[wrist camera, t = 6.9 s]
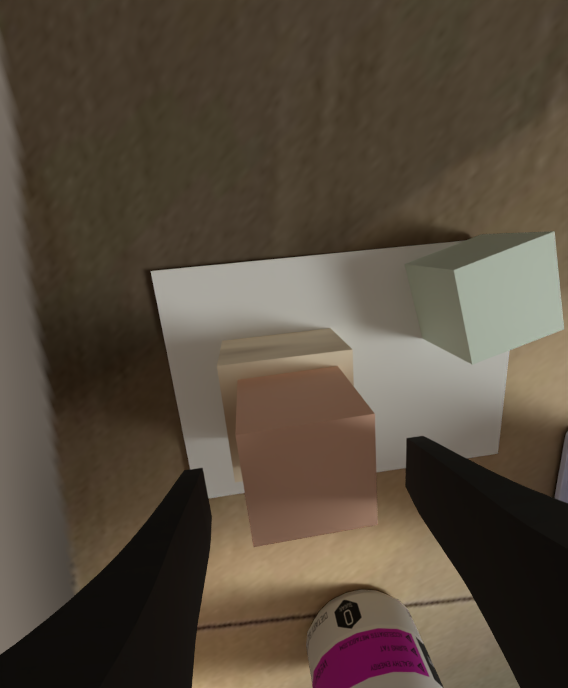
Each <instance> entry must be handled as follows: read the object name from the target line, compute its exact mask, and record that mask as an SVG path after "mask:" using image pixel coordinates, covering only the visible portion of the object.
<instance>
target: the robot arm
mask: <svg viewBox="0 0 568 688" xmlns="http://www.w3.org/2000/svg"><path fill="white" fill-rule="evenodd" d="M406 488H407V490H408V492H409V494H410V496H411V499H412V501H413V503H414V504H415V506H416V508H417V510H418V512H419V514H420V515H421V517H422V519H423V520H424V522H425V523H426V525H427V526H428V528H429V529H430V531H431V532H432V534H433V535H434V537H435V538H436V540H437V541H438V543H439V544H440V546H441V547H442V549H443V550H444V552H445V553H446V555H447V556H448V558H449V559H450V561H451V562H452V564H453V565H454V567H455V568H456V570H457V571H458V573H459V574H460V576H461V578H462V579H463V581H464V582H465V584H466V586H467V587H468V589H469V591H470V592H471V594H472V596H473V598H474V600H475V602H476V603H477V605H478V607H479V609H480V611H481V612H482V614H483V616H484V618H485V620H486V622H487V623H488V625H489V627H490V629H491V631H492V633H493V635H494V637H495V639H496V641H497V643H498V645H499V646H500V648H501V650H502V652H503V654H504V656H505V658H506V660H507V662H508V664H509V666H510V668H511V670H512V672H513V674H514V676H515V678H516V680H517V682H518V684H519V686H520V688H568V431H567V432H566V435H565V441H564V446H563V452H562V458H561V463H560V469H559V475H558V480H557V486H556V492H555V497H554V498H552V497H550V496H547V495H544V494H542V493H539V492H537V491H534V490H532V489H529V488H527V487H525V486H522V485H520V484H518V483H515V482H513V481H511V480H509V479H507V478H505V477H502V476H500V475H498V474H496V473H494V472H492V471H490V470H488V469H486V468H484V467H482V466H480V465H478V464H476V463H474V462H472V461H470V460H468V459H466V458H465V457H463V456H461V455H459V454H457V453H455V452H453V451H452V450H450V449H448V448H446V447H444V446H442V445H440V444H439V443H437V442H435V441H433V440H431V439H429V438H427V437H424V436H418V437H411V438H406ZM211 522H212V515H211V510H210V504H209V499H208V494H207V488H206V483H205V478H204V472H203V468H197V469H190V470H184V472H183V473H182V474H181V475H180V477H179V478H178V480H177V481H176V482H175V484H174V485H173V487H172V488H171V490H170V491H169V492H168V494H167V495H166V496H165V498H164V499H163V501H162V502H161V503H160V505H159V506H158V507H157V508H156V510H155V511H154V512H153V514H152V515H151V516H150V518H149V519H148V520H147V521H146V523H145V524H144V525H143V526H142V527H141V529H140V530H139V531H138V532H137V533H136V535H135V536H134V537H133V538H132V539H131V541H130V542H129V543H128V544H127V545H126V546H125V547H124V548H123V550H122V551H121V552H120V553H119V554H118V555H117V556H116V557H115V558H114V559H113V560H112V561H111V562H110V563H109V564H108V565H107V566H106V567H105V568H104V569H103V570H102V571H101V572H100V573H99V574H98V575H97V576H96V577H95V578H94V579H93V580H91V581H90V582H89V583H88V584H87V585H86V586H85V587H84V588H83V589H82V590H80V591H79V592H78V593H77V594H76V595H75V596H74V597H73V598H72V599H71V600H69V601H68V602H67V603H66V604H65V605H64V606H62V607H61V608H60V609H59V610H58V611H56V612H55V613H54V614H53V615H52V616H50V617H49V618H48V619H47V620H46V621H44V622H43V623H42V624H40V625H39V626H38V627H37V628H35V629H34V630H33V631H32V632H30V633H29V634H28V635H26V636H25V637H24V638H23V639H21V640H20V641H19V642H17V643H16V644H15V645H13V646H12V647H10V648H9V649H8V650H6V651H5V652H3V653H2V654H1V655H0V688H192V677H193V665H194V652H195V640H196V633H197V625H198V618H199V612H200V606H201V600H202V594H203V588H204V582H205V576H206V570H207V564H208V558H209V552H210V542H211Z"/></svg>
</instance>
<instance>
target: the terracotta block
mask: <svg viewBox="0 0 568 688" xmlns="http://www.w3.org/2000/svg"><path fill="white" fill-rule="evenodd" d="M235 436H236V442H237V448H238V454H239V460H240V467H241V473H242V479H243V485H244V491H245V497H246V503H247V509H248V516H249V522H250V528H251V534H252V540H253V546H254V547H257V546H262V545H268V544H274V543H279V542H285V541H290V540H296V539H301V538H307V537H313V536H318V535H324V534H329V533H335V532H340V531H346V530H352V529H357V528H363V527H368V526H374V525H378V516H377V475H376V435H375V413H374V412H373V411H372V409H371V408H370V407H369V405H368V404H367V403H366V402H365V400H364V399H363V398H362V396H361V395H360V394H359V393H358V391H357V390H356V389H355V388H354V386H353V385H352V384H351V382H350V381H349V380H348V379H347V377H346V376H345V375H344V373H343V372H342V371H341V370H340V368H339V367H338V366H334V367H327V368H319V369H312V370H305V371H298V372H291V373H283V374H276V375H269V376H262V377H254V378H247V379H240V380H238V381H237V406H236V431H235Z"/></svg>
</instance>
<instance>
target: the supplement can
mask: <svg viewBox="0 0 568 688" xmlns="http://www.w3.org/2000/svg"><path fill="white" fill-rule="evenodd" d="M306 648H307V655H308V661H309V667H310V674H311V680H312V686H313V688H443V685H442V683H441V681H440V679H439V677H438V674H437V672H436V670H435V668H434V666H433V663H432V661H431V659H430V657H429V655H428V652H427V650H426V648H425V646H424V643H423V641H422V639H421V637H420V635H419V632H418V630H417V628H416V626H415V624H414V621H413V619H412V617H411V615H410V613H409V610H408V609H407V608H406V607H405V606H404V605H403V604H402V603H401V602H400V601H399V600H398V599H396V598H393V597H391V596H389V595H387V594H384V593H382V592H379V591H377V590H357V591H352V592H348V593H344V594H343V595H341V596H339V597H337V598H335V599H333V600H331V601H330V602H329V603H327V604H326V605H325V606H324V607H323V608H322V609H321V610H320V611H319V613H318V615H317V616H316V618H315V619H314V621H313V623H312V625H311V627H310V628H309V630H308V632H307V642H306Z"/></svg>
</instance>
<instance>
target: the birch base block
mask: <svg viewBox="0 0 568 688" xmlns="http://www.w3.org/2000/svg"><path fill="white" fill-rule="evenodd" d="M334 366H338V367H339V368H340V370H341V371H342V372H343V373H344V375H345V376H346V377H347V379H348V380H349V381H350V382H351V384H352V385H353V386H354V378H353V349H352V348H351V347H350V346H349V345H347V344H346V343H345V342H344V341H343V340H342V339H341V338H340V337H339V336H338V335H337V334H336V333H335V332H334V331H333V330H332V329H331V328H328V329H319V330H311V331H302V332H293V333H285V334H276V335H267V336H259V337H250V338H241V339H233V340H224V341H222V344H221V349H220V354H219V358H218V363H217V370H218V377H219V383H220V390H221V396H222V402H223V409H224V415H225V422H226V428H227V435H228V441H229V447H230V454H231V460H232V467H233V473H234V479H235V482H241V481H243V479H242V473H241V467H240V460H239V454H238V448H237V442H236V436H235V431H236V406H237V381H238V380H240V379H247V378H254V377H262V376H269V375H276V374H283V373H291V372H298V371H305V370H312V369H319V368H327V367H334Z"/></svg>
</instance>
